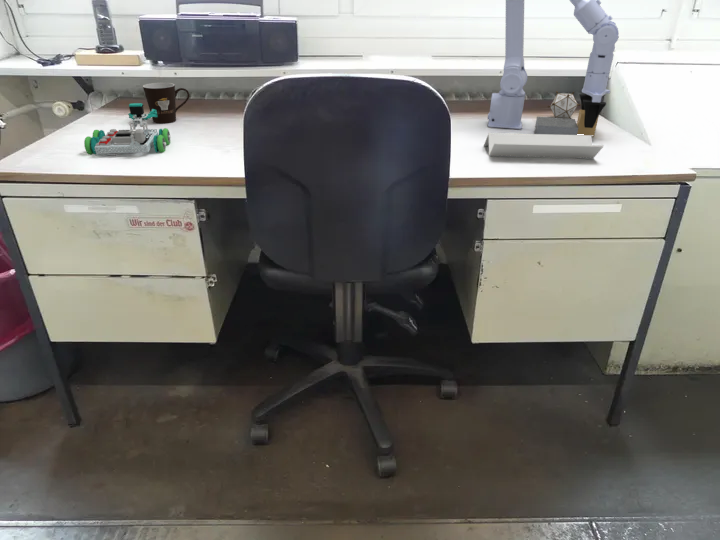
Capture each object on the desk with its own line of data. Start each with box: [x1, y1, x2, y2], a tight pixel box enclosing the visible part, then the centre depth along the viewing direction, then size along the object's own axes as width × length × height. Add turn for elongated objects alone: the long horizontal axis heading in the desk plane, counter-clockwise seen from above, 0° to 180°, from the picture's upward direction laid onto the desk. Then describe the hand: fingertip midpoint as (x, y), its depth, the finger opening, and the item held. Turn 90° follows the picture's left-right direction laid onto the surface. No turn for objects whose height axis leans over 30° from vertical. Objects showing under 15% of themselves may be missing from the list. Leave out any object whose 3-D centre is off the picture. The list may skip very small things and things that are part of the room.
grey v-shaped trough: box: [483, 132, 604, 159], centre depth 130 cm, size 12×25×6 cm
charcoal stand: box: [534, 116, 578, 135], centre depth 144 cm, size 10×10×4 cm
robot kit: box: [84, 102, 172, 155], centre depth 134 cm, size 19×25×9 cm
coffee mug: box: [142, 82, 190, 125], centre depth 153 cm, size 12×9×10 cm
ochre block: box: [576, 109, 600, 136], centre depth 147 cm, size 4×4×6 cm
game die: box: [547, 90, 581, 119], centre depth 161 cm, size 9×8×10 cm
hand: (586, 124), depth 147 cm, fingers open, 7 cm apart
